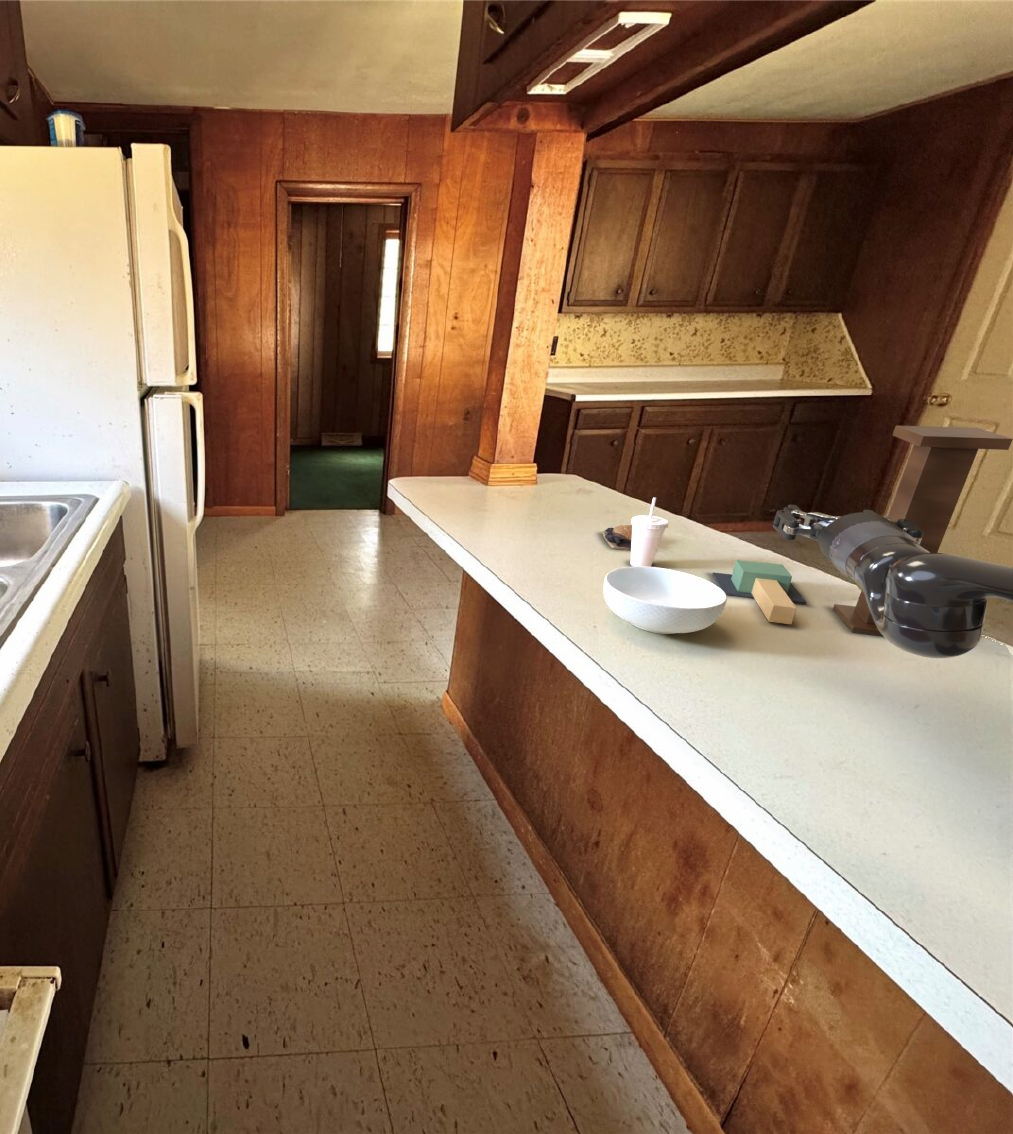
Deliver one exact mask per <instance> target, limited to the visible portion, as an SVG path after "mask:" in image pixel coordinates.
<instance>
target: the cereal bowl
mask: <svg viewBox="0 0 1013 1134" xmlns="http://www.w3.org/2000/svg"><path fill="white" fill-rule="evenodd" d="M602 587H603V588H602V589H603V590H602V592H603V599H604V601H605V603H606V606H608V608H609V609H610V610H611V611H612V613H614V615H616V616H618V617H619V618H620V619H622V620H623V621H626V622H628V623H630V624H631V625H632V626H633V627H636V628H638V629H640V630H642V631H646V632H649V633H653V634H658V635H659V634H660V635H674V634H687V633H688V634H689V633H694V632H698V631H702V630H704V629H706V628H709V627H711V626H712V625H713V624H714V623H715V622H717V620H718V619H719V618H720V616H721V615H722V614H723V612H724V610H725V606H726V605H727V604H726V603H727V600H728V595H726V594H725V592H724V591H723V590H722V589H721V588H719V587H718V585H717V584H716V583H713V582H711V581H709V580H707V579H705V578H703V577H699V576H696V575H694V574H691V573H688V572H684V571H680V570H675V569H672V568H665V567H664V568H663V567H658V566H651V567H648V566H632V565H631V566H623V567H618V568H614V569H612V570H610V571H609V572H607V573H606V574H605V576H604V579H603V586H602Z"/></svg>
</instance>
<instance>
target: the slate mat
mask: <svg viewBox="0 0 1013 1134" xmlns="http://www.w3.org/2000/svg"><path fill="white" fill-rule="evenodd" d="M711 576H712V577H713V579H714V581H715V584H716V586H718V587H719V588H721V589H722V590H723V591H724V592H725V594H726V596H732V597H738V598H739V597H740V598H747V599H755V598H754V597H753V595H752V593H747V592H738V591H737V589H736V587H735V586H734V584H733V582H732V580H731V577H732V574H731V573H722V572H712V575H711ZM787 595H788V597H789V598H790V600H791V601H792V602H793V604H797V605H807V601H806V600H805V599H804V597H803V596H802V594H800V592H799V590H798V589H797V588H796V587H795V585H794V584H793V583H792V581H791V582H790V585H789V589H788V592H787Z"/></svg>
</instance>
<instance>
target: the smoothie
mask: <svg viewBox="0 0 1013 1134" xmlns="http://www.w3.org/2000/svg"><path fill="white" fill-rule="evenodd" d="M656 502H657V497H653V498H652V500H651V506H650V510H649V514H638V515H634V516H632V518H631V521H630V525H632V541H631V549H630V561H629V562H630V563H629V564H630V565H631V566H648V567H653V566H652V565H653V563H654V560H655V557H656V555H657V552H658V550H659V547H660V544H661V542H662V539H663V537H664V534H665V531H666V529H667V528H669V523H670V522H669V520H668V519H666V518H663V517H660V516H655V515H654V511H655V507H656Z"/></svg>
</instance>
